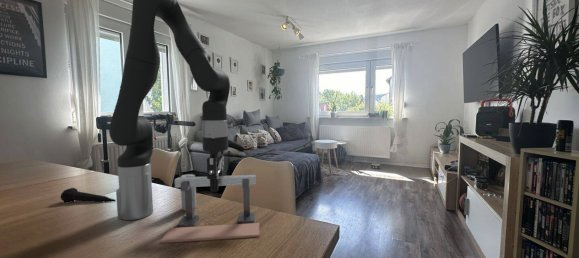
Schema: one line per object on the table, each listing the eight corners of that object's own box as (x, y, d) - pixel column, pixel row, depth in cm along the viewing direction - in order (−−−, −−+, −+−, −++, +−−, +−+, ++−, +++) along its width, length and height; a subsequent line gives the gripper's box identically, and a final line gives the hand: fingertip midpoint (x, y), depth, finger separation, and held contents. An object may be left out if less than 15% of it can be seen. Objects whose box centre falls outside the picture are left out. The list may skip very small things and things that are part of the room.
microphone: (117, 207, 96) (66, 201, 95) (121, 192, 97) (71, 186, 97) (108, 209, 90) (54, 202, 90) (112, 193, 92) (59, 186, 91)
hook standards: (176, 228, 72) (174, 182, 71) (183, 219, 78) (181, 176, 77) (254, 223, 75) (253, 179, 74) (254, 215, 81) (254, 174, 80)
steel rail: (174, 187, 73) (174, 179, 72) (177, 185, 75) (177, 177, 75) (255, 184, 75) (255, 176, 75) (255, 182, 78) (255, 174, 78)
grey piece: (191, 211, 84) (190, 177, 83) (178, 210, 85) (177, 177, 84) (199, 206, 89) (198, 174, 88) (187, 205, 89) (186, 173, 89)
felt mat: (160, 243, 64) (160, 240, 64) (170, 230, 71) (170, 228, 71) (259, 236, 67) (259, 234, 67) (259, 224, 74) (259, 222, 74)
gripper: (207, 132, 81) (209, 180, 82) (196, 137, 66) (198, 195, 68) (230, 132, 81) (231, 179, 83) (224, 137, 67) (225, 194, 69)
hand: (216, 186), depth 75 cm, fingers open, 8 cm apart
